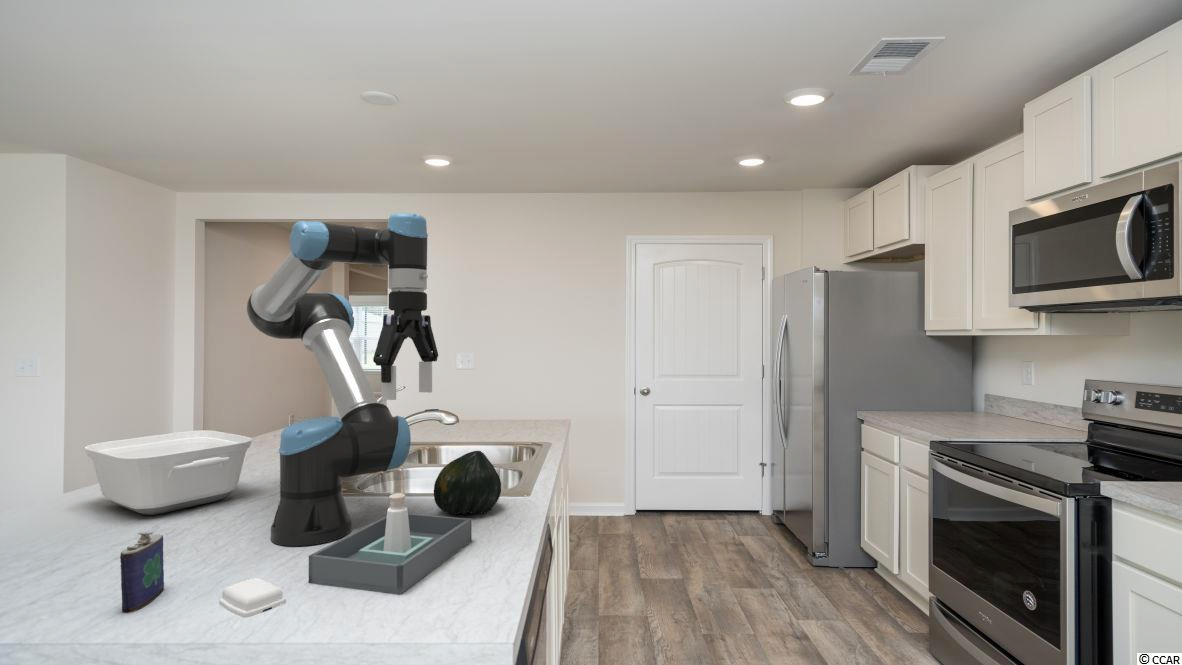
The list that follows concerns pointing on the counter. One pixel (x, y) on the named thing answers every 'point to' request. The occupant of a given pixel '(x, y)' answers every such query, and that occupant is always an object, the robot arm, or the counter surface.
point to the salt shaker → (397, 525)
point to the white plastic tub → (169, 469)
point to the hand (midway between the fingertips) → (408, 395)
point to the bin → (389, 555)
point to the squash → (467, 485)
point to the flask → (142, 572)
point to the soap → (251, 597)
